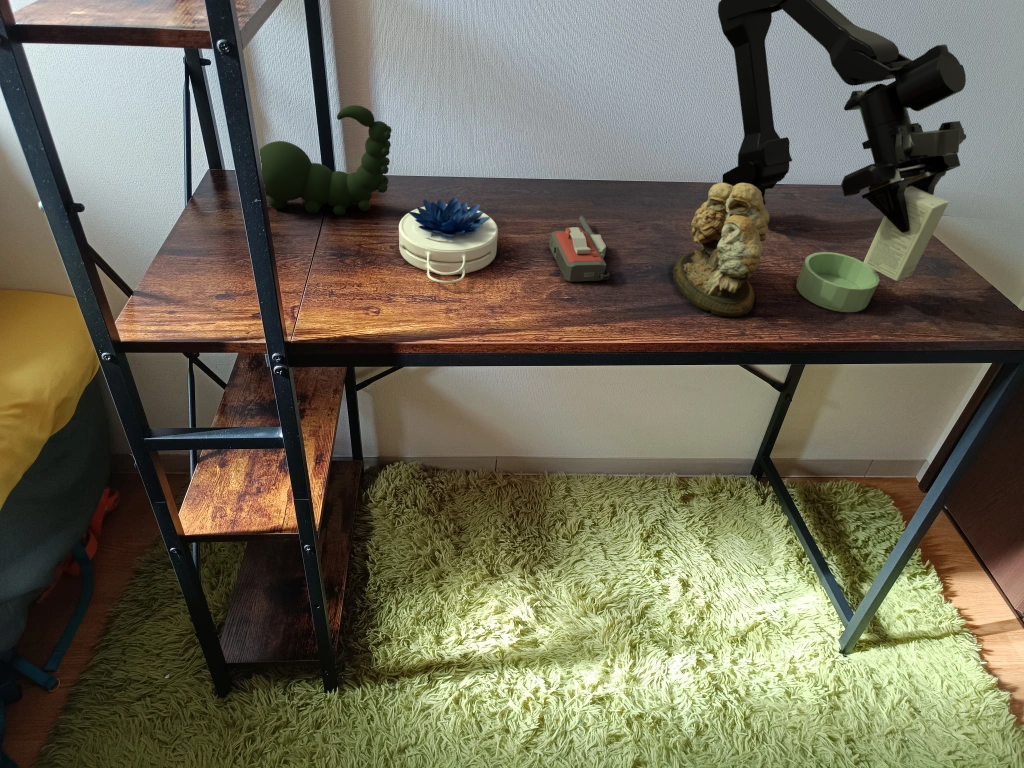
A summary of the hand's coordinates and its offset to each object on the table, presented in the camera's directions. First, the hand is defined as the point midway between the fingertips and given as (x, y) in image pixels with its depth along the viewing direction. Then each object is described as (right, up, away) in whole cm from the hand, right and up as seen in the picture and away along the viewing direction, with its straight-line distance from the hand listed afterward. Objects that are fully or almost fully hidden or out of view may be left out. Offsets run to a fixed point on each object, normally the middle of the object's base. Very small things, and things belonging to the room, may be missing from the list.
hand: (916, 229), depth 101 cm
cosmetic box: (-1, -5, +6) cm, 8 cm away
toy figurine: (-92, +8, +18) cm, 95 cm away
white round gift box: (-69, -2, +9) cm, 70 cm away
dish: (-8, -8, +10) cm, 15 cm away
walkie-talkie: (-48, -1, +13) cm, 50 cm away
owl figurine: (-28, -7, +9) cm, 30 cm away
